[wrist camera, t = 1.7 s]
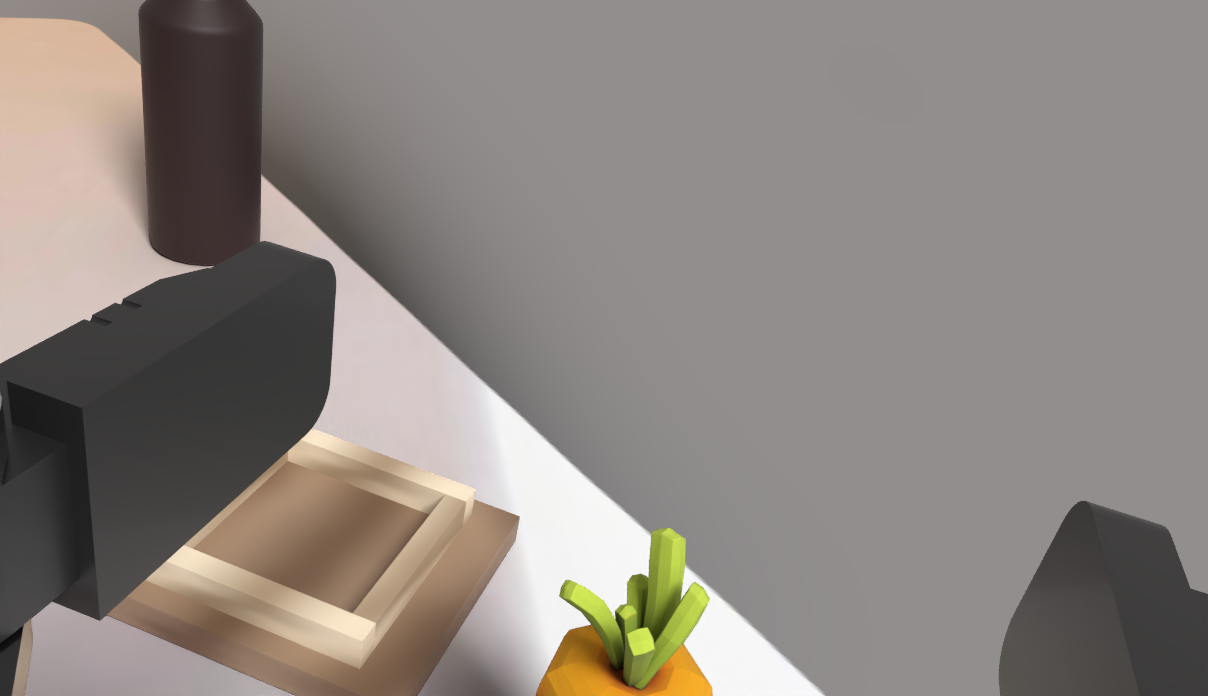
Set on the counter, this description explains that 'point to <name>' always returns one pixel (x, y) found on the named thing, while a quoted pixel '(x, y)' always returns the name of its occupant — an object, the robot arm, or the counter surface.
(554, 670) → the carrot
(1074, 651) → the robot arm
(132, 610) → the beige wooden tray
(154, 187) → the bottle
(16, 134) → the counter surface
